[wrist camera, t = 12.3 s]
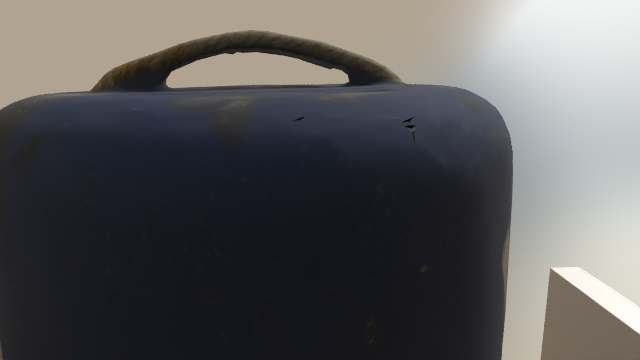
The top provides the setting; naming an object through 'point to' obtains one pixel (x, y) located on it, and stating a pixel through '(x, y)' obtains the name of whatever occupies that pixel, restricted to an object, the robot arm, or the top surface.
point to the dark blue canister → (254, 216)
